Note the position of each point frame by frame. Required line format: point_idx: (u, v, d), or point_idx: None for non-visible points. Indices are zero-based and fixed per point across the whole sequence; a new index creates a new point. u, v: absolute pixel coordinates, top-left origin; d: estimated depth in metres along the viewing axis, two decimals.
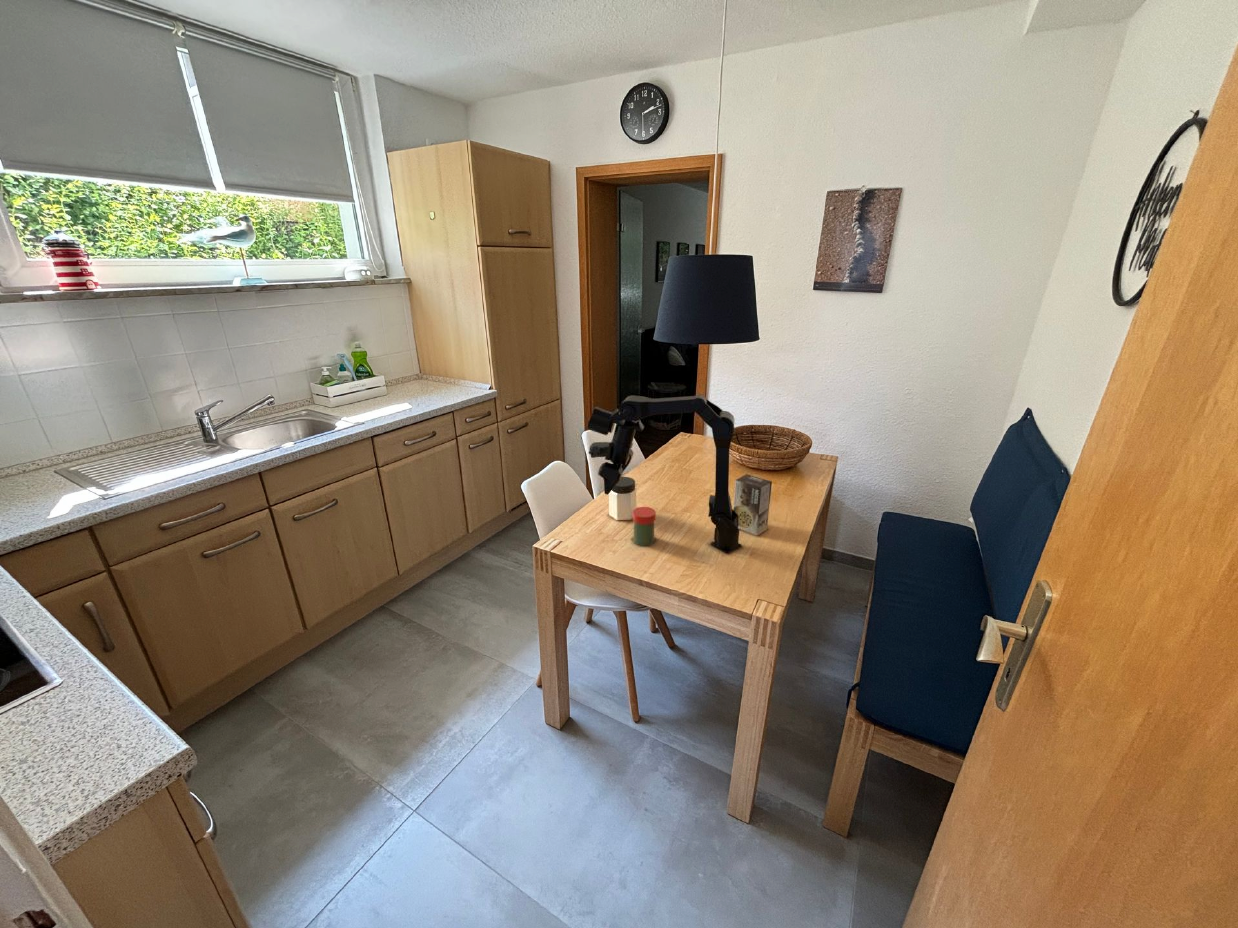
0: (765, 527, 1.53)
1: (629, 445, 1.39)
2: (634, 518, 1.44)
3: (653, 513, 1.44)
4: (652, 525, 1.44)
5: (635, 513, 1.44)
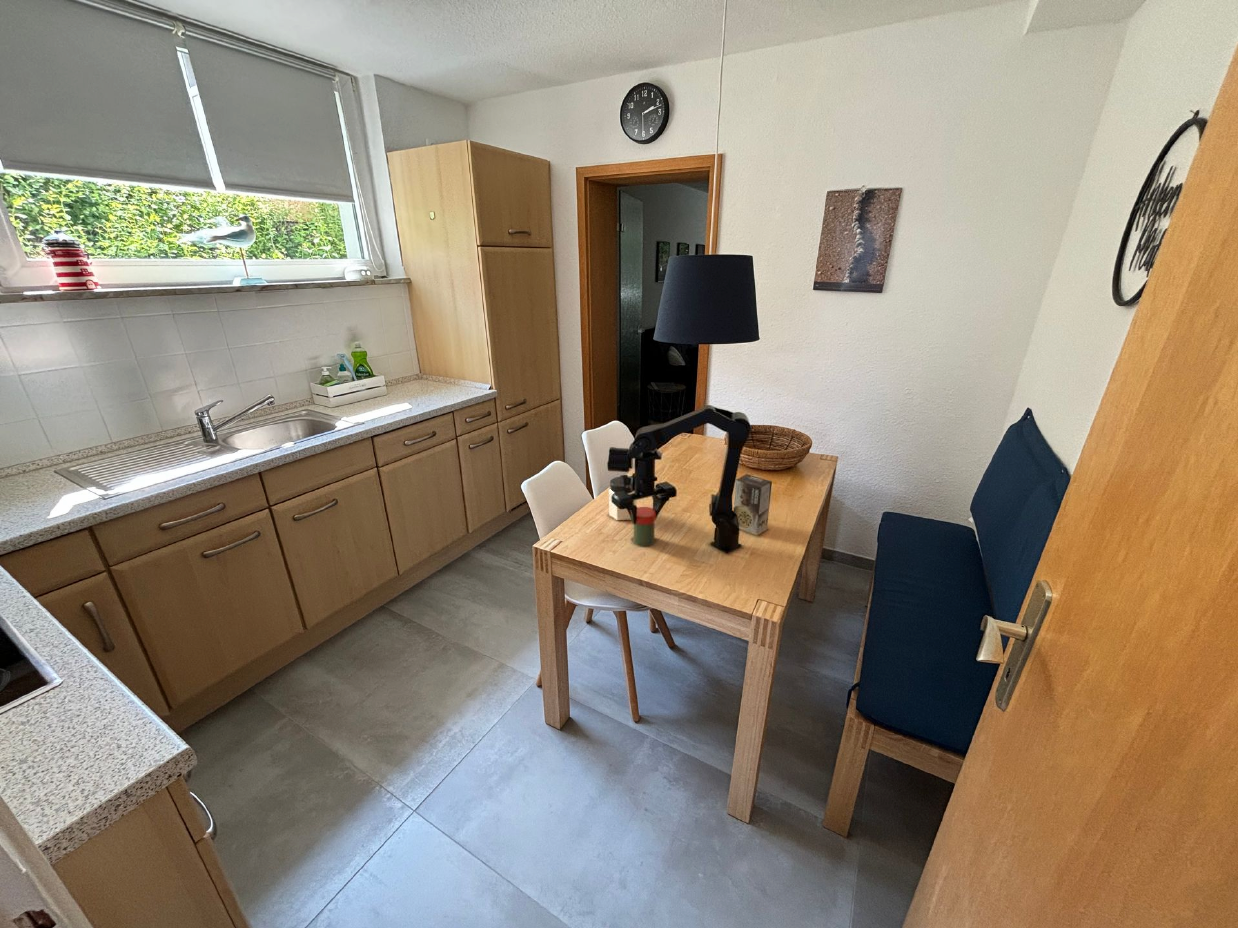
0: (765, 527, 1.53)
1: (644, 477, 1.38)
2: None
3: (653, 513, 1.44)
4: (652, 525, 1.44)
5: None
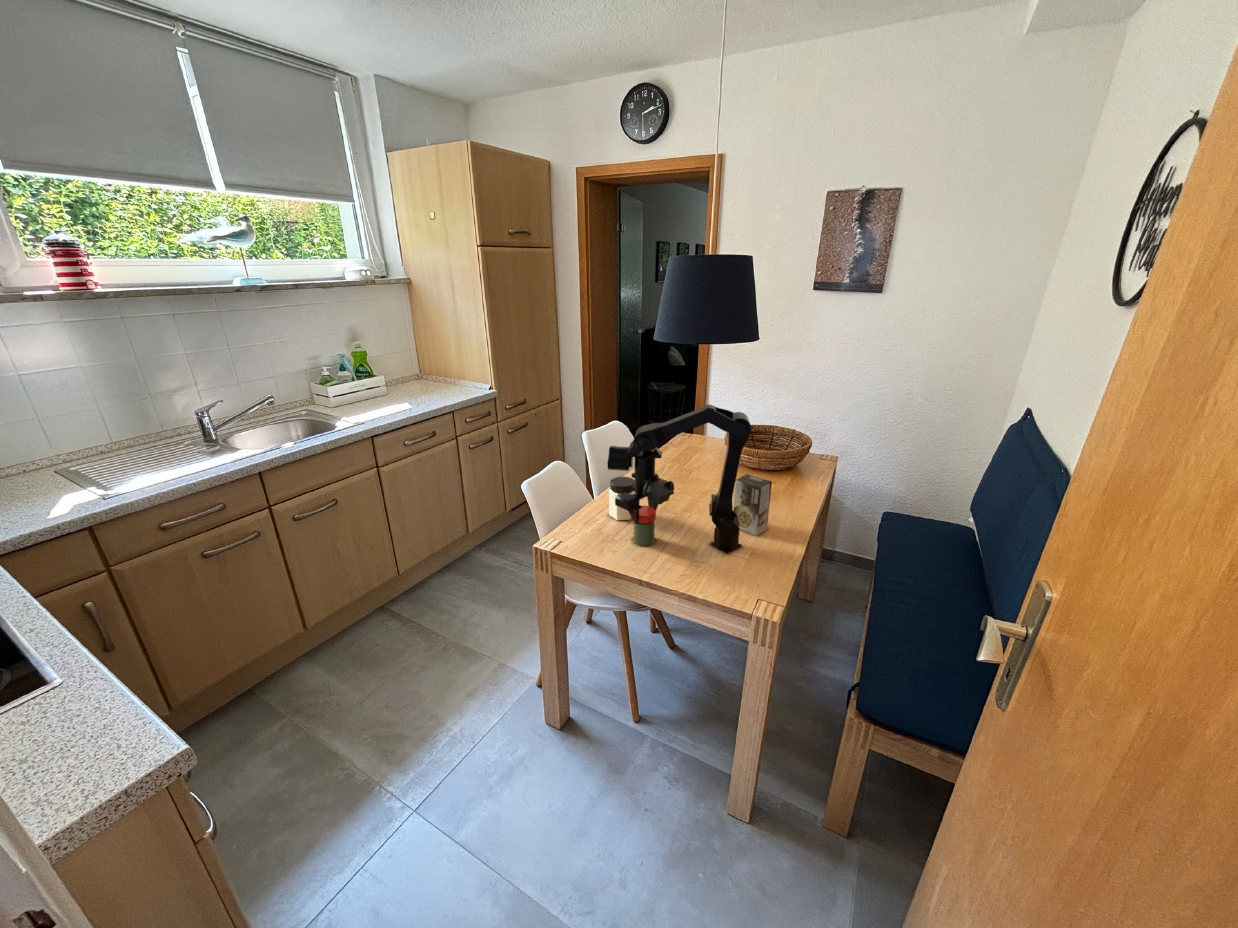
0: (765, 527, 1.53)
1: None
2: None
3: None
4: (652, 525, 1.44)
5: (651, 507, 1.46)
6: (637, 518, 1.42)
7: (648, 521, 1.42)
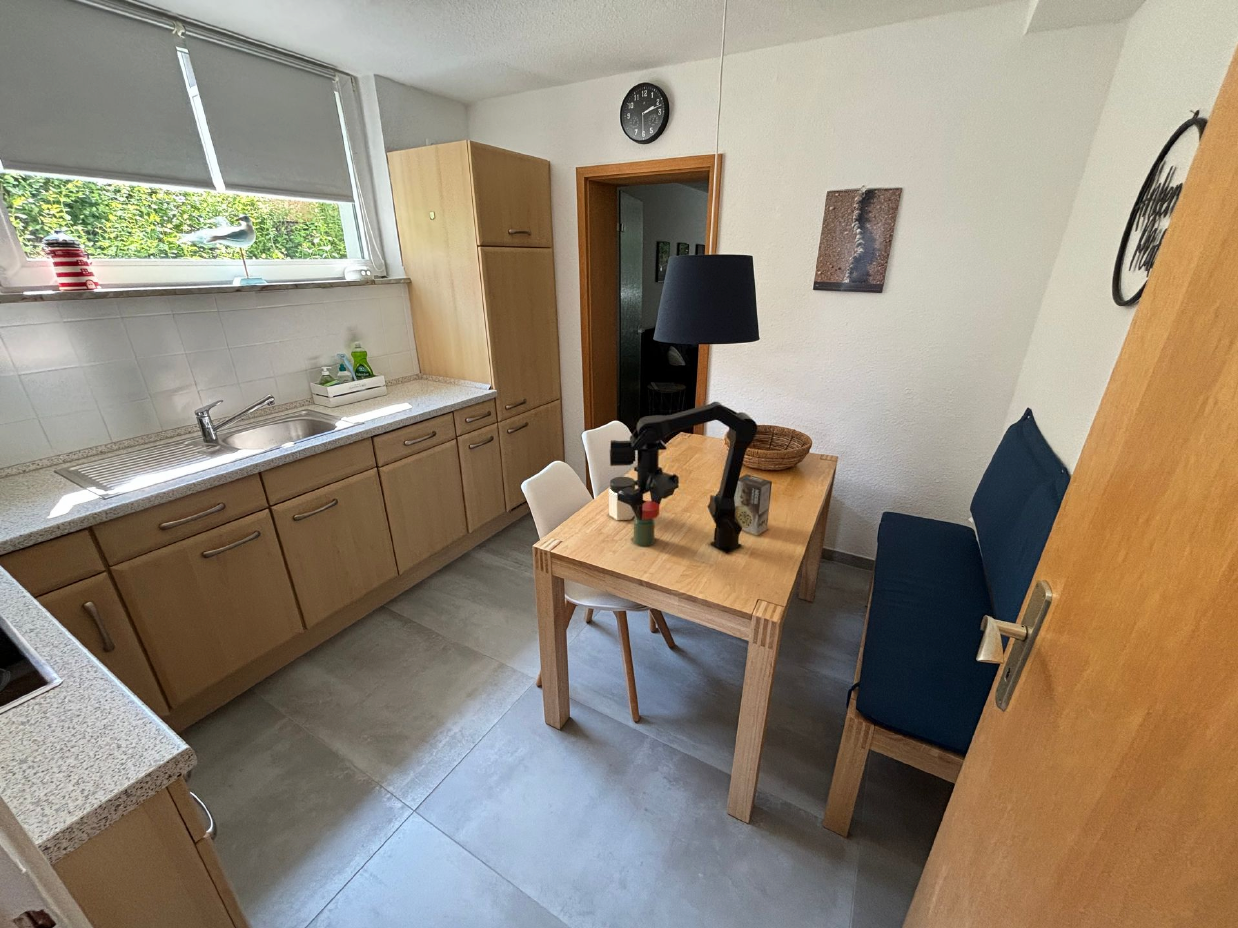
0: (765, 527, 1.53)
1: None
2: None
3: None
4: (652, 525, 1.44)
5: (654, 502, 1.40)
6: (640, 514, 1.36)
7: (652, 516, 1.36)
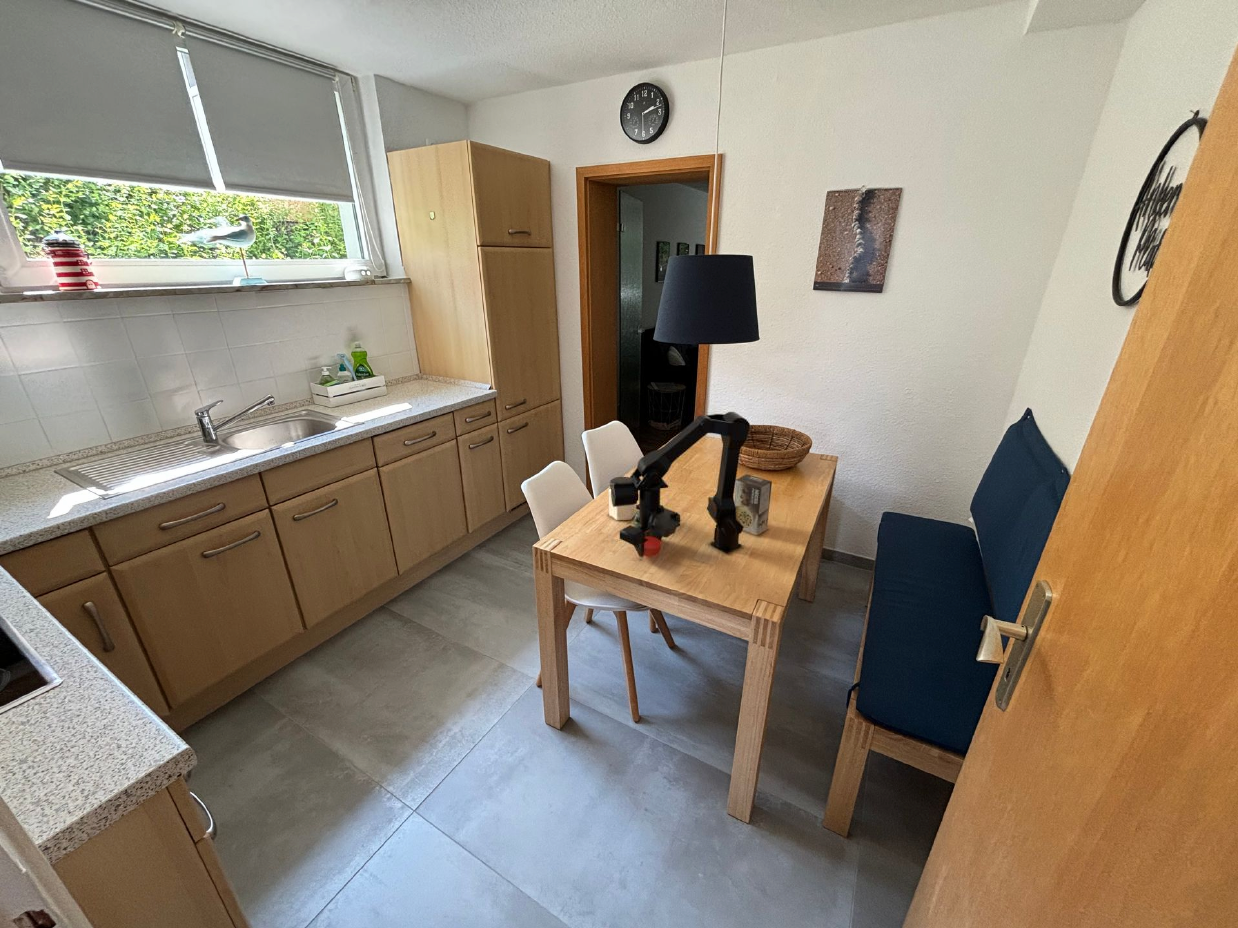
0: (765, 527, 1.53)
1: None
2: None
3: None
4: None
5: (656, 539, 1.41)
6: (642, 551, 1.36)
7: (653, 554, 1.37)
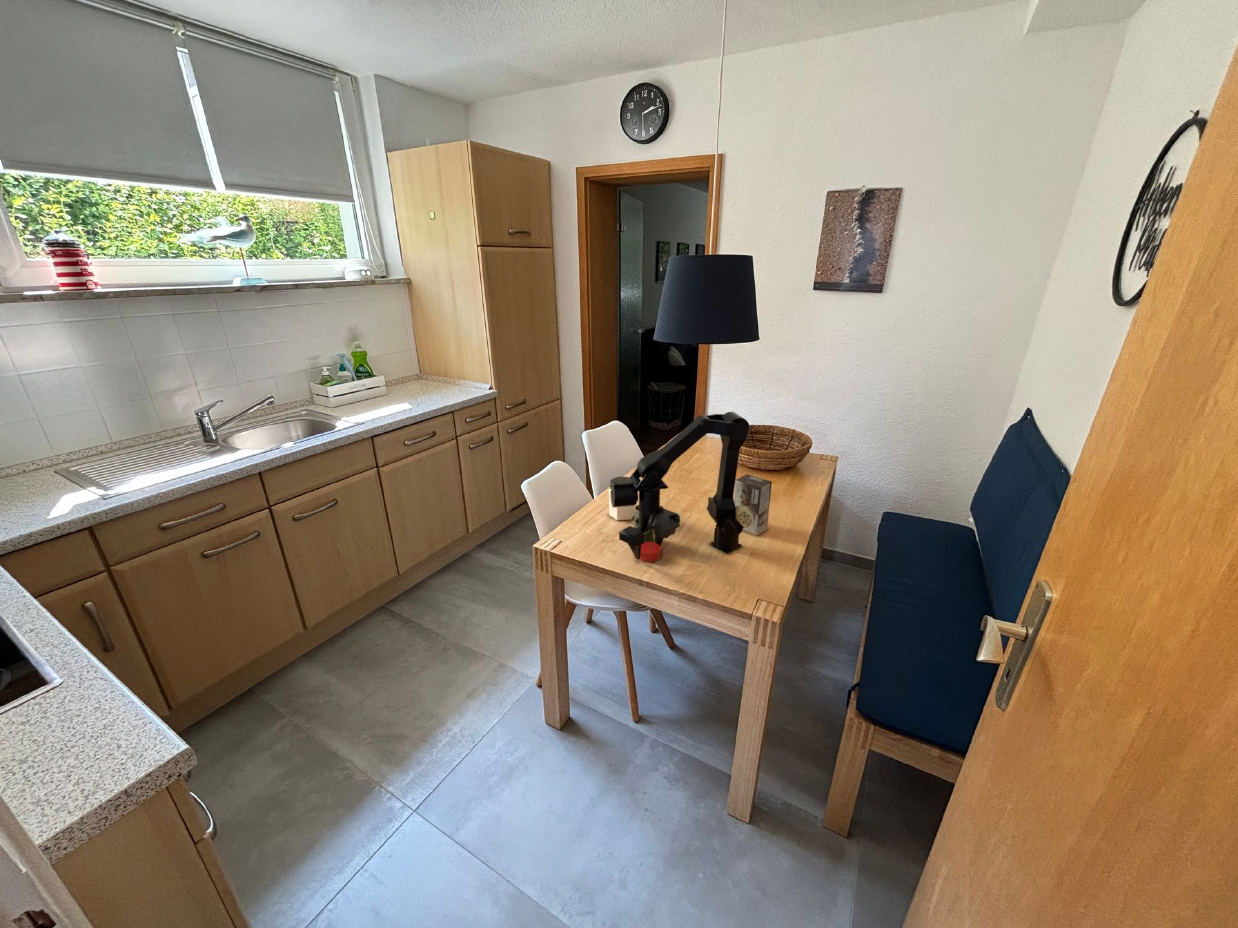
0: (765, 527, 1.53)
1: None
2: None
3: None
4: None
5: (655, 544, 1.42)
6: (639, 553, 1.36)
7: (653, 559, 1.38)
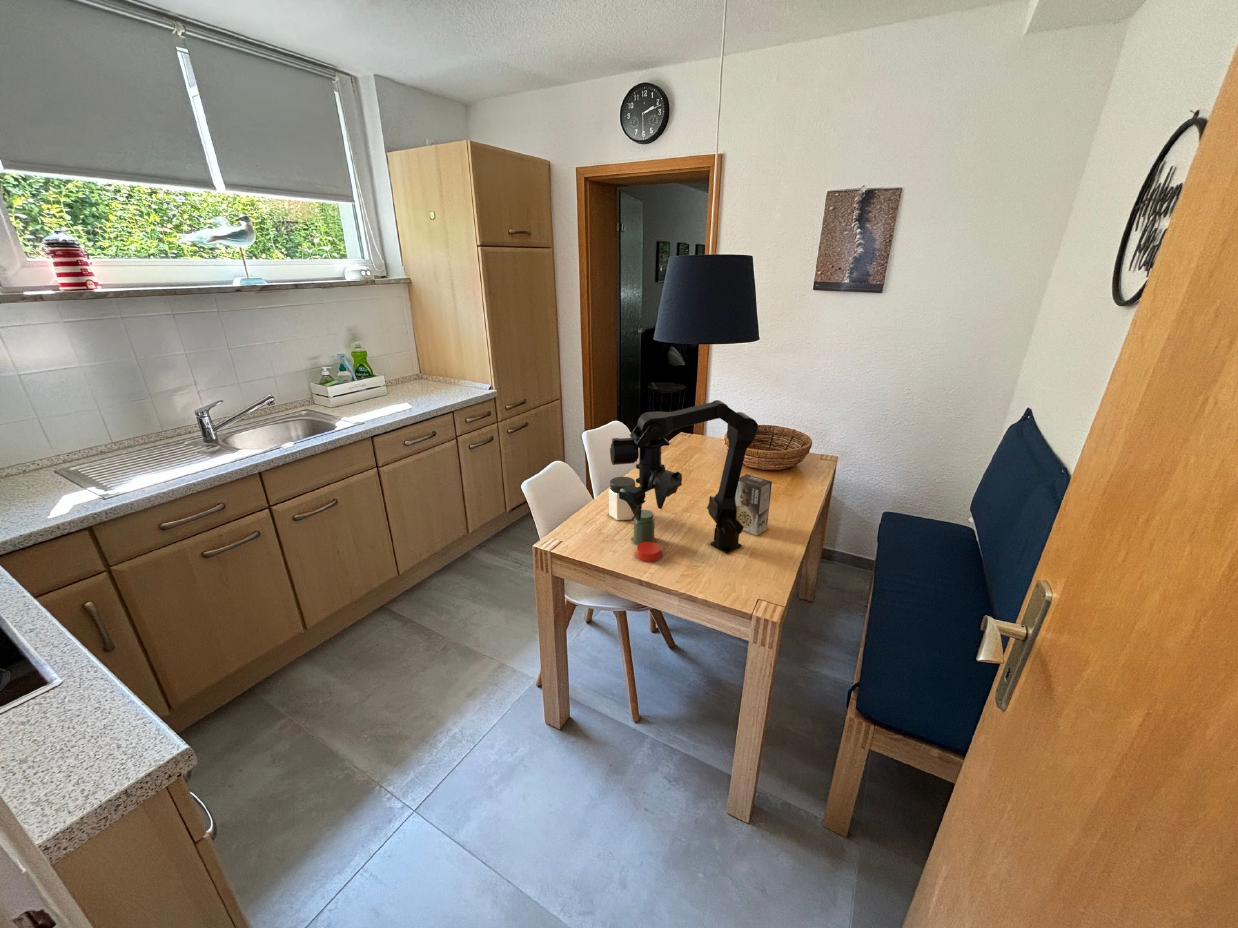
0: (765, 527, 1.53)
1: None
2: None
3: (638, 547, 1.40)
4: (652, 525, 1.44)
5: (655, 544, 1.42)
6: (639, 514, 1.31)
7: (653, 559, 1.38)
